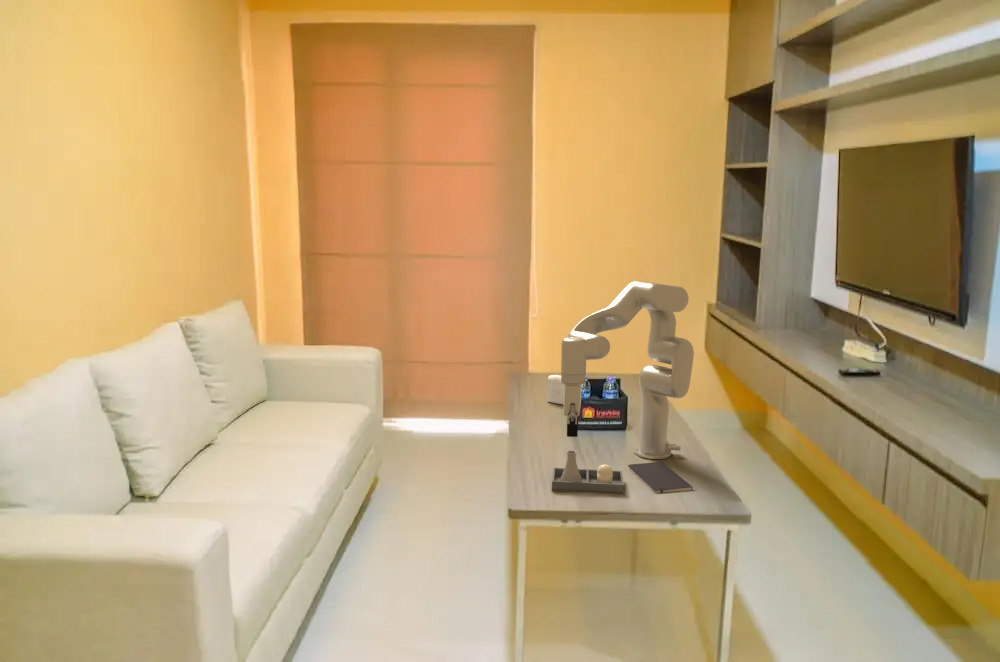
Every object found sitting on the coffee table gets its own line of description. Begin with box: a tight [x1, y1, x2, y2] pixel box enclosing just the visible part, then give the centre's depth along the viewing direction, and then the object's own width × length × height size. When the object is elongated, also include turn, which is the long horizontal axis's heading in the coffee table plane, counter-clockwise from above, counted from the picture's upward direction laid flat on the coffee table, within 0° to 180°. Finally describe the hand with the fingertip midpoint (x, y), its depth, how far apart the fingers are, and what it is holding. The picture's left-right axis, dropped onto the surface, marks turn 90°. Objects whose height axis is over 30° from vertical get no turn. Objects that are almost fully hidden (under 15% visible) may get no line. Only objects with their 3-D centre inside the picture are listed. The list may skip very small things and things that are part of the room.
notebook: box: [627, 461, 693, 494], centre depth 230 cm, size 13×2×21 cm
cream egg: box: [596, 463, 614, 484], centre depth 223 cm, size 5×5×6 cm
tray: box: [551, 467, 625, 495], centre depth 224 cm, size 22×11×3 cm, turn 84°
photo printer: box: [546, 374, 564, 406], centre depth 310 cm, size 10×4×12 cm, turn 57°
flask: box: [560, 450, 582, 482], centre depth 224 cm, size 7×7×10 cm
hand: (572, 431), depth 222 cm, fingers open, 9 cm apart
